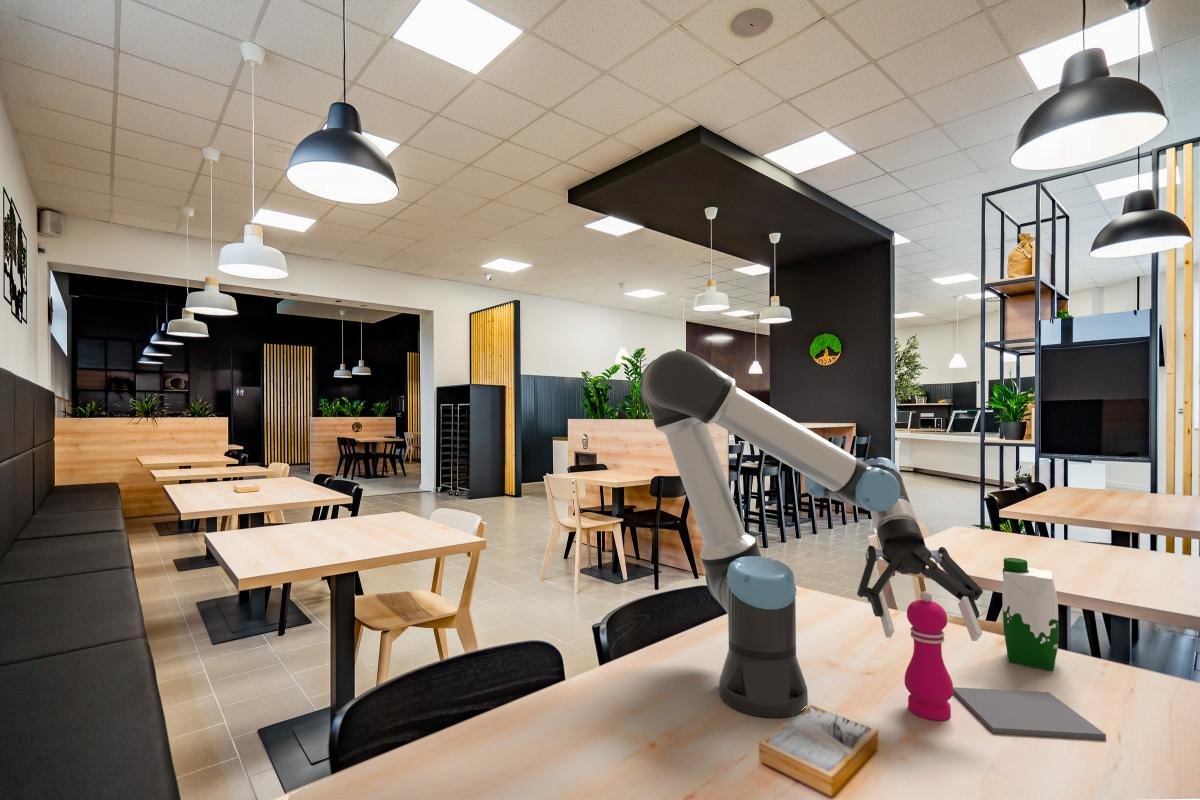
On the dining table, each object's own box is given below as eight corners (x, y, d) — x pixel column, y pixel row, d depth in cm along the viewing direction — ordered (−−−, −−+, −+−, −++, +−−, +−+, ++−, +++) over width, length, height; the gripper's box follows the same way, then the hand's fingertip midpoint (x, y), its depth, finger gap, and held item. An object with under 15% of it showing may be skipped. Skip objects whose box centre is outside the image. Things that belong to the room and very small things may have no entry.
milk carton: (1005, 649, 125) (1002, 554, 125) (1059, 659, 119) (1056, 560, 120) (1003, 662, 118) (1000, 562, 118) (1060, 674, 112) (1056, 569, 113)
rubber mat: (993, 733, 92) (993, 727, 92) (951, 691, 105) (951, 687, 105) (1106, 739, 89) (1105, 734, 89) (1048, 696, 103) (1048, 691, 103)
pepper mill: (963, 722, 95) (960, 597, 95) (918, 722, 95) (915, 598, 96) (938, 701, 102) (935, 585, 103) (897, 701, 102) (894, 585, 103)
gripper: (959, 540, 114) (1005, 648, 98) (826, 537, 117) (850, 642, 101) (972, 517, 109) (1023, 627, 93) (833, 515, 112) (859, 622, 96)
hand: (933, 635), depth 97 cm, fingers open, 13 cm apart
